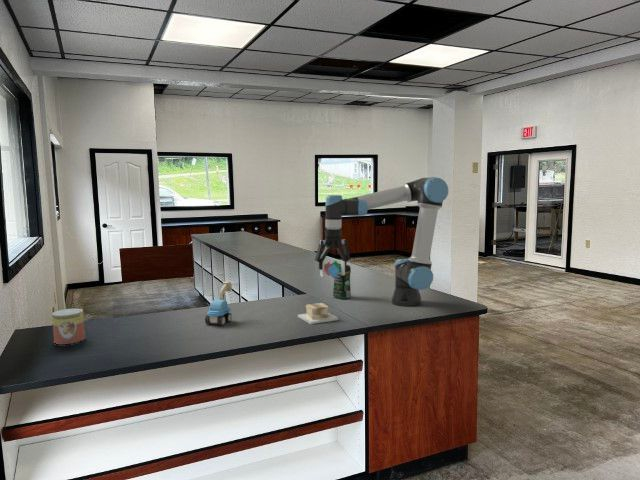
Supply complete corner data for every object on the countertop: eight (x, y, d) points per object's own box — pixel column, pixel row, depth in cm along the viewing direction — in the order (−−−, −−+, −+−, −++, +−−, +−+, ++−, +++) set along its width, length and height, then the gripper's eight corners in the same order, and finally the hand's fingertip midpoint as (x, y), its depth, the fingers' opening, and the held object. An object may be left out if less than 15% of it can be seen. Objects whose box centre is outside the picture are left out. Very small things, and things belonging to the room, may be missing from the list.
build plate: (324, 312, 231) (324, 310, 231) (338, 319, 218) (338, 317, 218) (297, 316, 224) (297, 314, 224) (310, 324, 212) (310, 322, 212)
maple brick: (322, 313, 226) (322, 302, 226) (328, 317, 219) (328, 306, 218) (306, 315, 223) (306, 304, 223) (312, 319, 216) (312, 308, 215)
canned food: (52, 346, 187) (50, 316, 185) (55, 338, 197) (53, 310, 196) (84, 342, 191) (82, 313, 190) (86, 334, 201) (84, 307, 200)
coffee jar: (330, 297, 263) (330, 263, 260) (341, 295, 268) (341, 262, 266) (342, 300, 255) (342, 266, 253) (353, 297, 260) (353, 264, 258)
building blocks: (334, 285, 227) (332, 274, 217) (323, 273, 231) (321, 262, 220) (346, 275, 229) (345, 263, 219) (335, 263, 233) (334, 252, 222)
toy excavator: (239, 317, 226) (238, 281, 224) (220, 327, 210) (219, 288, 208) (223, 315, 229) (221, 280, 227) (203, 325, 213) (202, 287, 211)
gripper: (350, 227, 231) (349, 272, 233) (307, 228, 221) (307, 275, 223) (358, 228, 224) (357, 275, 226) (314, 229, 214) (314, 278, 216)
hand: (332, 275), depth 225 cm, fingers closed on building blocks, 10 cm apart
